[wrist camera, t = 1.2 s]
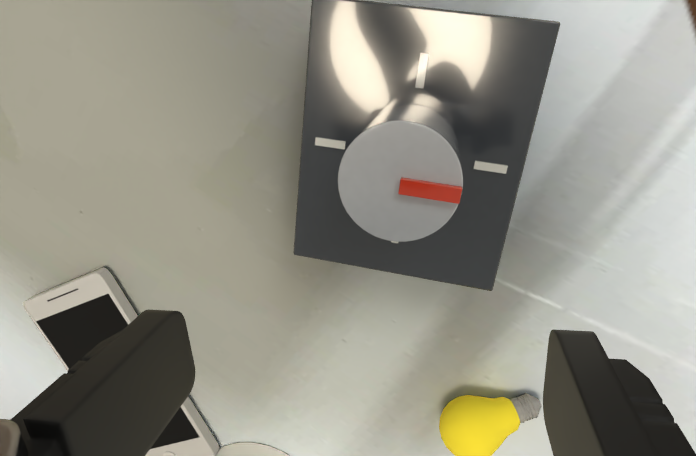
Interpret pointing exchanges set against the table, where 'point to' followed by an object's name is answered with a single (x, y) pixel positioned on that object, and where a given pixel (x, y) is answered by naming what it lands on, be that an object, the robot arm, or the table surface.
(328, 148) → the dark grey flat block
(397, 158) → the rotary knob
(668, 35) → the table surface
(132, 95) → the table surface
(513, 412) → the light bulb
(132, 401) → the robot arm
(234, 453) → the base with upright slab
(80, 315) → the smartphone
